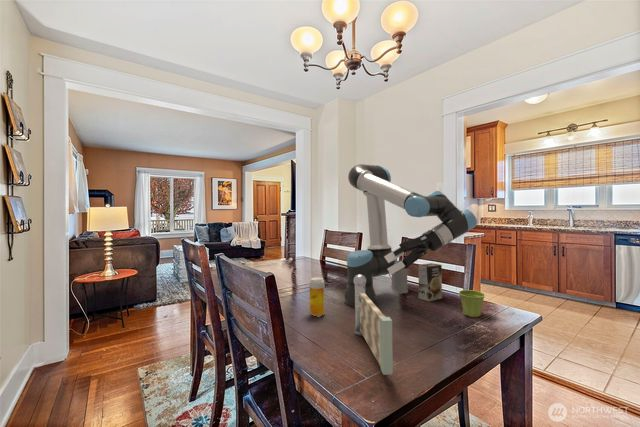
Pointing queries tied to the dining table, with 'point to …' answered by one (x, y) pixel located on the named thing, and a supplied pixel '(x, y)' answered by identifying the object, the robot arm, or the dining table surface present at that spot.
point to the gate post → (359, 288)
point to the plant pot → (472, 302)
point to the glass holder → (399, 281)
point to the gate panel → (377, 333)
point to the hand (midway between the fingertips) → (387, 266)
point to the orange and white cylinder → (317, 296)
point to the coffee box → (430, 281)
